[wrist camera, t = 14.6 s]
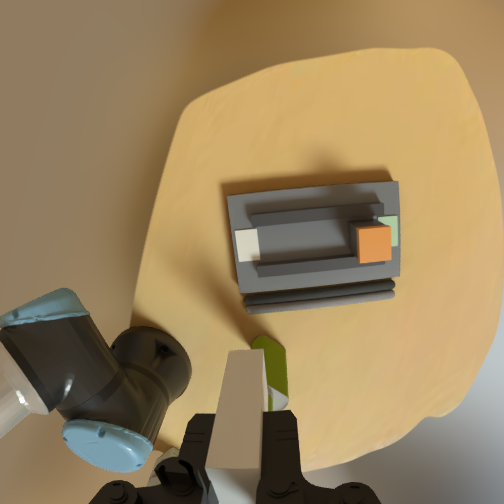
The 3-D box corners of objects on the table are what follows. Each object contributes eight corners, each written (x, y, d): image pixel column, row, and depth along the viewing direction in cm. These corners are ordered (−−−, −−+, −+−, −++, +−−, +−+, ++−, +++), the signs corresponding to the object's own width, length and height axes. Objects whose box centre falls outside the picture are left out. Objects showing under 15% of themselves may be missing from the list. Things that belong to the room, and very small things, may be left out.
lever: (348, 250, 44) (359, 263, 38) (347, 220, 43) (358, 229, 37) (376, 247, 44) (391, 259, 38) (375, 218, 43) (391, 226, 37)
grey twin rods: (246, 312, 50) (245, 316, 49) (243, 294, 49) (243, 298, 48) (392, 295, 48) (395, 299, 47) (393, 278, 47) (396, 281, 46)
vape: (260, 331, 51) (254, 418, 31) (289, 350, 51) (296, 440, 32) (246, 346, 52) (234, 435, 32) (275, 365, 52) (275, 455, 33)
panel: (241, 288, 49) (238, 297, 45) (228, 195, 45) (225, 197, 42) (395, 272, 47) (403, 279, 43) (393, 180, 43) (402, 182, 40)
